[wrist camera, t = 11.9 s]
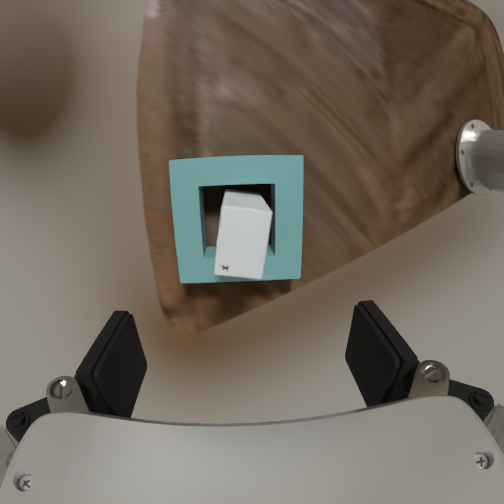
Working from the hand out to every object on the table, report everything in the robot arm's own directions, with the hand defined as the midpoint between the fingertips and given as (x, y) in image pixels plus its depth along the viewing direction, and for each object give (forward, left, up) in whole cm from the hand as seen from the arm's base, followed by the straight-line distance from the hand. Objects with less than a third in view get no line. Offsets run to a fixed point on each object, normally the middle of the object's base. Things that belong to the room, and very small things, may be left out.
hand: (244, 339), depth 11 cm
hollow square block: (0, 0, -24) cm, 24 cm away
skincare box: (0, 0, -24) cm, 24 cm away
